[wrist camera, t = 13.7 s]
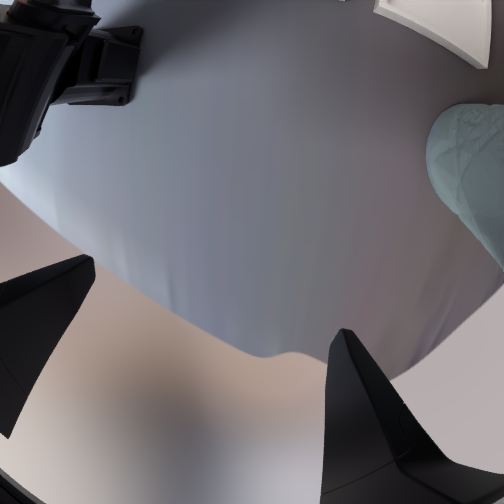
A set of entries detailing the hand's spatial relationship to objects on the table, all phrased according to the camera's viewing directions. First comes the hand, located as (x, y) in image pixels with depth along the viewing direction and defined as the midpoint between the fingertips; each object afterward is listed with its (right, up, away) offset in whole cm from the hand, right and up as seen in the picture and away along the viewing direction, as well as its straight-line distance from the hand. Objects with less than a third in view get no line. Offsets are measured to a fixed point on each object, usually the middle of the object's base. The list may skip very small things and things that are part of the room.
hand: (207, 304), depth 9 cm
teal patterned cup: (+18, +9, +6) cm, 21 cm away
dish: (+15, +20, 0) cm, 25 cm away
